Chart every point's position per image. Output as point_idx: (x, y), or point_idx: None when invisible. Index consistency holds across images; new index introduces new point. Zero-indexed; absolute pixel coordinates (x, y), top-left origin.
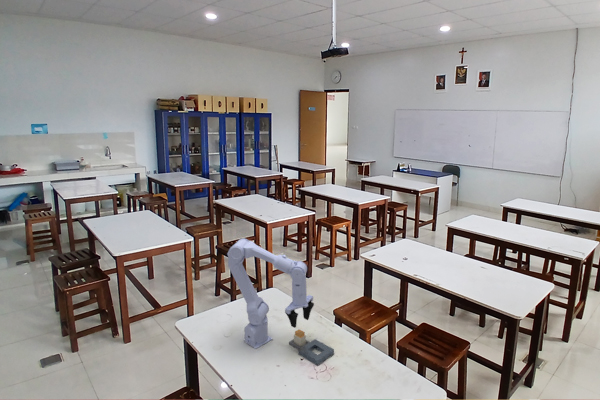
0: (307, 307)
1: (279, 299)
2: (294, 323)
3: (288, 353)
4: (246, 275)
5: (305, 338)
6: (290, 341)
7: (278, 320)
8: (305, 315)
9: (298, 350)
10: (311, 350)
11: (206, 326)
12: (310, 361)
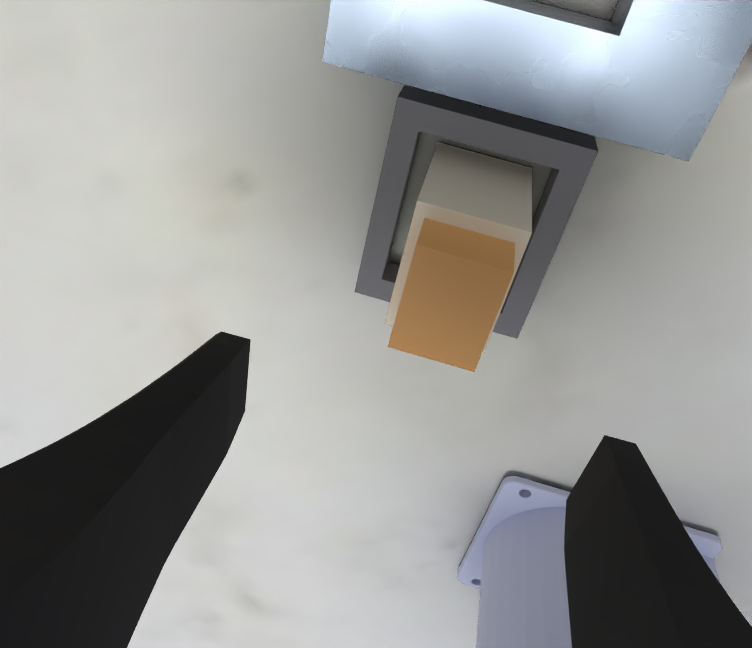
0: (79, 608)
1: None
2: (682, 540)
3: (684, 255)
4: None
5: (432, 184)
6: (502, 327)
7: (228, 516)
8: (213, 438)
9: (685, 157)
10: (531, 2)
11: None
12: None
